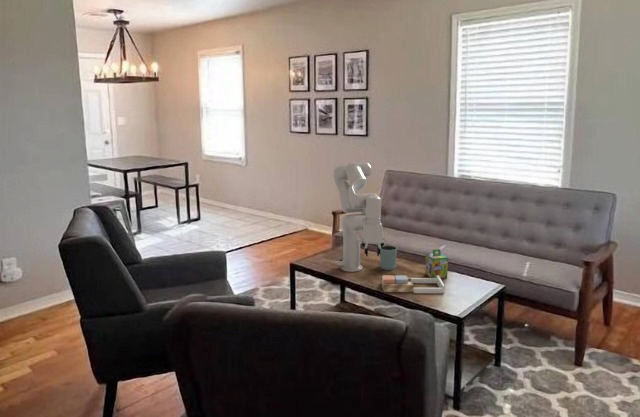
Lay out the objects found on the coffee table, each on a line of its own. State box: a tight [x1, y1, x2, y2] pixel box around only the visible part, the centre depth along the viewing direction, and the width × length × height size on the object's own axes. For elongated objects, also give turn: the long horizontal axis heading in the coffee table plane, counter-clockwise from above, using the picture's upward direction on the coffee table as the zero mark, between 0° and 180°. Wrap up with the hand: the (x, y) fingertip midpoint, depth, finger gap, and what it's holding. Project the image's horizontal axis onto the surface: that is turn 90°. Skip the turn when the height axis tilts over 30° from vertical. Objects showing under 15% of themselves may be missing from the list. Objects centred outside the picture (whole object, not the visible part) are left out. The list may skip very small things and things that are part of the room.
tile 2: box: [394, 275, 409, 284], centre depth 259 cm, size 6×6×4 cm
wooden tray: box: [381, 277, 415, 293], centre depth 259 cm, size 15×12×4 cm
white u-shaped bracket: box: [410, 275, 446, 294], centre depth 259 cm, size 15×15×4 cm
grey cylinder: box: [379, 244, 398, 271], centre depth 290 cm, size 10×10×12 cm
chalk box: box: [424, 248, 449, 279], centre depth 275 cm, size 9×9×15 cm
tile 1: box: [381, 274, 395, 285], centre depth 259 cm, size 6×6×4 cm
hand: (372, 255), depth 256 cm, fingers open, 5 cm apart
